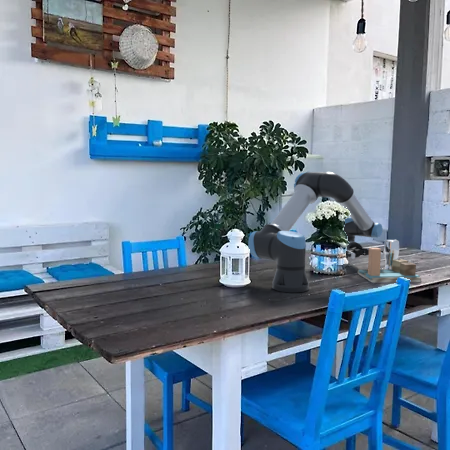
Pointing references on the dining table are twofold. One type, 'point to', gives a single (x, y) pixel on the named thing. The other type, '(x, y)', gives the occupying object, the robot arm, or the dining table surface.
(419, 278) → the lane board
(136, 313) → the dining table surface
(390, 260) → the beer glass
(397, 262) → the oak block
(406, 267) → the walnut block
